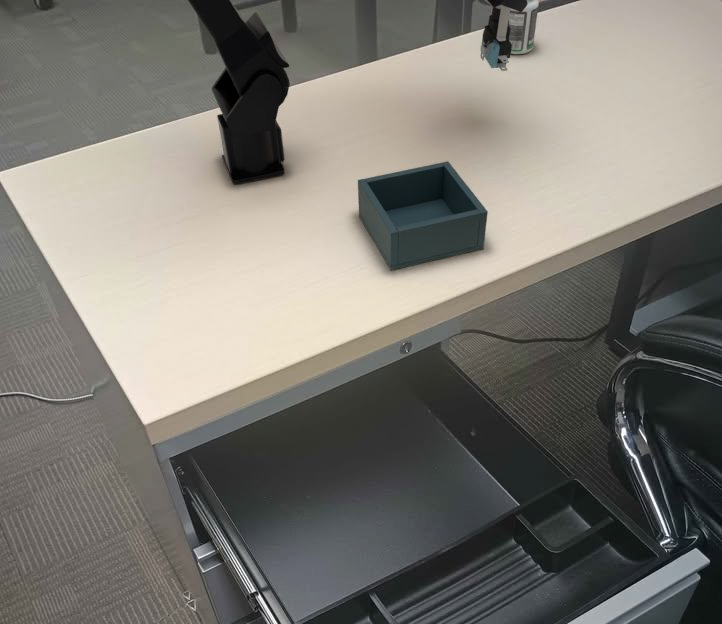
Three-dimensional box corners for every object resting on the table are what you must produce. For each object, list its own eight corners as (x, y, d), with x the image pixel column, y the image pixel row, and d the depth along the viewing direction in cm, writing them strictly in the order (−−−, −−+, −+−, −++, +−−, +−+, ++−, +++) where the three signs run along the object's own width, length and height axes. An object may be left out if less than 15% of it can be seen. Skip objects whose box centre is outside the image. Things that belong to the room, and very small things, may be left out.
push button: (524, 73, 92) (541, -20, 84) (482, 77, 91) (495, -16, 83) (506, 47, 96) (521, -44, 88) (465, 51, 95) (477, -41, 87)
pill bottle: (525, 39, 114) (533, -26, 107) (537, 52, 111) (547, -13, 104) (495, 43, 113) (501, -21, 106) (507, 57, 110) (514, -9, 103)
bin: (390, 270, 80) (390, 233, 76) (358, 216, 86) (357, 179, 83) (483, 249, 82) (488, 211, 78) (445, 197, 88) (448, 160, 85)
